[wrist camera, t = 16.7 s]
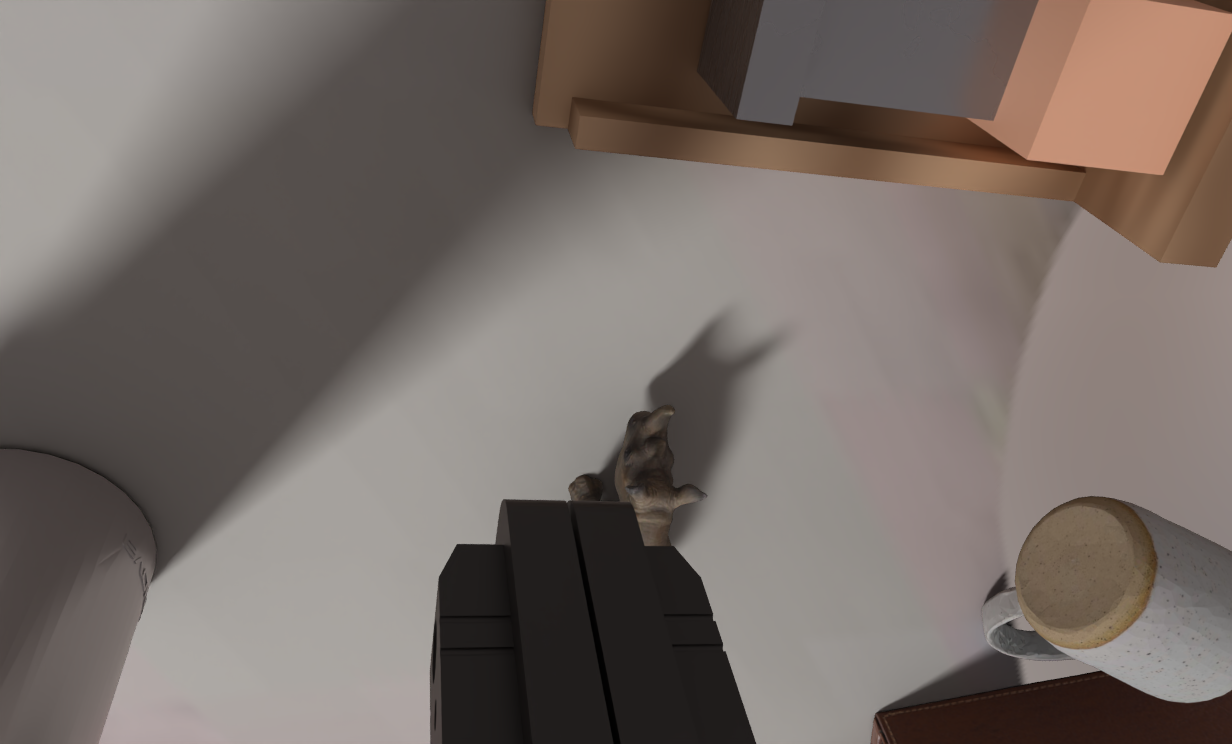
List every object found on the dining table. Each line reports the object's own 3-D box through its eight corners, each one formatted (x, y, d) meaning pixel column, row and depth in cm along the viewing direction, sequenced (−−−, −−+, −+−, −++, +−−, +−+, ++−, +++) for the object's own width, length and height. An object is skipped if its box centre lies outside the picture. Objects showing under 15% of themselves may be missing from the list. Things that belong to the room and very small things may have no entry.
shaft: (696, 71, 30) (736, 119, 26) (729, -86, 27) (777, -58, 24) (944, 103, 31) (1014, 151, 28) (993, -42, 29) (1076, -10, 25)
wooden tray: (532, 112, 31) (560, 207, 25) (572, -213, 26) (618, -198, 20) (1075, 174, 35) (1216, 267, 29) (1190, -95, 31) (1387, -53, 25)
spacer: (940, 99, 32) (1026, 159, 27) (990, -47, 29) (1093, -9, 25) (1060, 115, 33) (1162, 175, 28) (1117, -26, 30) (1239, 15, 26)
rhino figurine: (710, 375, 38) (754, 470, 33) (598, 622, 44) (620, 733, 39) (612, 353, 37) (642, 450, 32) (511, 611, 43) (522, 725, 38)
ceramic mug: (1084, 454, 43) (1194, 579, 37) (1196, 508, 47) (1315, 632, 40) (932, 609, 48) (1007, 744, 41) (1044, 649, 51) (1130, 781, 45)
